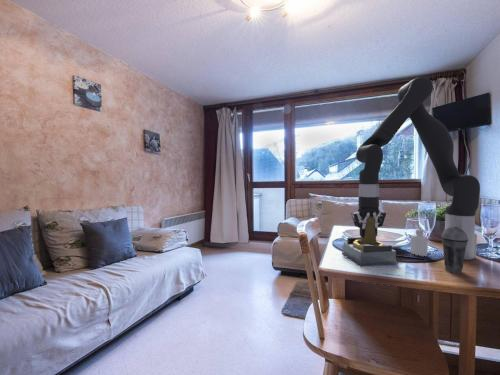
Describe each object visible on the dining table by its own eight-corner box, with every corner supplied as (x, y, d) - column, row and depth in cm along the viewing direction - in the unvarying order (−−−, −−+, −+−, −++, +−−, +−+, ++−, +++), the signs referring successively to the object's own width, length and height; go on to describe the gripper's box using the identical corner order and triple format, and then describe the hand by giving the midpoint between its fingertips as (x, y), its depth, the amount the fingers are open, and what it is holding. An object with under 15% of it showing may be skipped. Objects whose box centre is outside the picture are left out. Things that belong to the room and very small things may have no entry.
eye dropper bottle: (417, 252, 107) (418, 224, 106) (429, 256, 101) (430, 227, 101) (409, 252, 106) (409, 225, 106) (419, 257, 101) (420, 228, 100)
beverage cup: (472, 273, 84) (474, 215, 83) (457, 276, 82) (459, 217, 81) (450, 265, 91) (451, 212, 90) (435, 268, 89) (436, 213, 88)
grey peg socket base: (374, 251, 109) (374, 235, 109) (397, 264, 94) (398, 246, 94) (341, 253, 108) (341, 237, 107) (360, 266, 93) (360, 248, 92)
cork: (378, 245, 97) (379, 217, 96) (362, 244, 98) (362, 217, 97) (374, 240, 103) (374, 214, 102) (358, 240, 104) (358, 214, 103)
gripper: (379, 193, 104) (379, 234, 105) (347, 194, 102) (347, 235, 103) (391, 195, 96) (391, 238, 97) (356, 196, 95) (356, 240, 96)
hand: (368, 237), depth 100 cm, fingers closed on cork, 4 cm apart
